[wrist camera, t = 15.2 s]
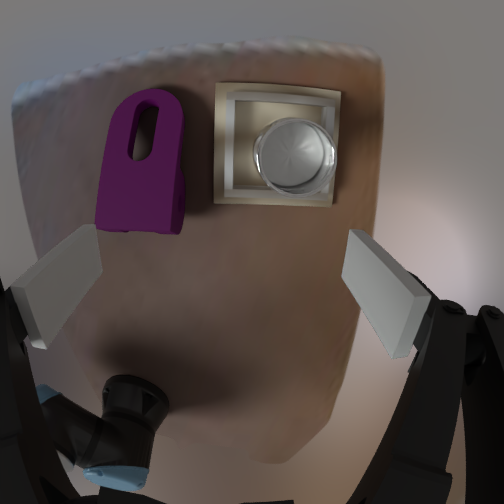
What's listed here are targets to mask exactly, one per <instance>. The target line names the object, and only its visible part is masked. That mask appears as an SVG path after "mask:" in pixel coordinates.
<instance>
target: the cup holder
mask: <svg viewBox="0 0 504 504" xmlns="http://www.w3.org/2000/svg"><path fill="white" fill-rule="evenodd" d="M340 101H341V92H339V91H332V90H325V89H317V88H309V87H300V86H289V85H276V84H259V83H216V93H215V128H214V203H216V204H267V205H295V206H317V207H332V200H333V191H334V181H335V173H334V175H333V177H332V179H331V180H330V182H329V183H328V184H327V185H326V186H325V187H324V188H323V189H322V190H321V191H319V192H317V193H316V194H314V195H311V196H308V197H304V198H291V197H286V196H283V195H280V194H278V193H277V192H275V191H273V190H272V189H271V188H270V187H269V186H268V185H267V184H266V183H265V182H264V181H263V179H262V178H261V177H260V176H259V174H258V172H257V171H256V169H255V166H254V164H253V159H252V142H253V138H254V135H255V134H256V132H257V131H258V130H259V129H260V128H261V127H262V126H264V125H266V124H267V123H269V122H270V121H272V120H275V119H278V118H281V117H298V118H302V119H307V120H310V121H313V122H315V123H317V124H319V125H320V126H321V127H323V128H324V129H325V130H326V131H327V132H328V133H329V135H330V136H331V138H332V140H333V142H334V144H335V147H336V151H337V148H338V135H339V120H340ZM335 171H336V170H335Z"/></svg>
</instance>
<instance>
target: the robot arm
mask: <svg viewBox="0 0 504 504" xmlns="http://www.w3.org/2000/svg"><path fill="white" fill-rule="evenodd" d="M102 272H103V270H102V265H101V259H100V253H99V246H98V239H97V232H96V224H89V225H82V226H81V227H80V228H78V229H77V230H76V231H74V232H73V233H72V234H70V235H69V236H68V237H67V238H65V239H64V240H63V241H62V242H60V243H59V244H58V245H57V246H55V247H54V248H53V249H52V250H50V251H49V252H48V253H47V254H46V255H44V256H43V257H42V258H41V259H40V260H39V261H37V262H36V263H35V264H34V265H33V266H32V267H31V268H29V269H28V270H27V271H26V272H25V273H24V274H23V275H22V276H20V277H19V278H18V279H17V280H16V281H15V282H14V283H13V284H12V285H11V286H10V287H9V288H8V289H7V290H6V291H4V288H3V285H2V282H1V279H0V504H166V503H163V502H160V501H158V500H155V499H153V498H150V497H147V496H145V495H141V494H136V493H130V492H126V491H136V490H140V489H142V488H143V487H144V485H145V483H146V479H147V474H148V473H149V465H150V459H151V454H152V448H153V442H154V437H155V433H156V431H157V429H158V428H159V426H160V425H161V423H162V422H163V420H164V419H165V417H166V416H167V413H168V408H169V401H168V399H167V397H166V395H165V394H164V393H163V392H162V391H161V390H160V389H159V388H157V387H156V386H155V385H153V384H151V383H149V382H147V381H145V380H143V379H140V378H137V377H133V376H126V375H119V376H114V377H111V378H109V379H108V380H107V381H106V383H105V385H104V388H103V391H102V410H103V414H102V417H101V418H99V417H98V416H96V415H94V414H93V413H91V412H89V411H87V410H86V409H84V408H82V407H81V406H79V405H78V404H76V403H74V402H73V401H71V400H70V399H68V398H67V397H65V396H64V395H63V394H62V393H60V392H57V391H56V390H54V389H52V388H51V387H49V386H48V385H45V384H40V385H38V386H36V387H35V383H34V379H33V375H32V371H31V367H30V362H29V357H28V352H27V347H26V346H25V343H24V341H23V340H24V339H25V337H26V336H27V335H28V336H29V339H30V341H31V343H32V345H33V347H37V348H42V349H47V348H48V347H49V345H50V344H51V342H52V341H53V339H54V338H55V336H56V335H57V333H58V332H59V331H60V329H61V328H62V326H63V325H64V323H65V322H66V320H67V319H68V318H69V316H70V315H71V313H72V312H73V311H74V309H75V308H76V307H77V305H78V304H79V302H80V301H81V300H82V298H83V297H84V296H85V294H86V293H87V292H88V290H89V289H90V288H91V287H92V285H93V284H94V283H95V281H96V280H97V279H98V278H99V276H100V275H101V274H102ZM341 277H342V279H343V280H344V282H345V284H346V285H347V287H348V288H349V290H350V291H351V293H352V294H353V296H354V298H355V299H356V301H357V302H358V304H359V306H360V307H361V309H362V310H363V312H364V314H365V315H366V317H367V319H368V320H369V322H370V323H371V325H372V327H373V328H374V330H375V332H376V333H377V335H378V337H379V338H380V340H381V342H382V343H383V345H384V347H385V349H386V350H387V352H388V354H389V355H390V357H391V359H394V358H401V357H407V356H408V355H409V352H410V350H411V348H412V345H413V344H414V346H415V347H416V349H417V350H418V351H417V353H416V355H415V357H414V359H413V361H412V364H411V366H410V368H409V370H408V372H409V375H408V378H407V381H406V383H405V386H404V389H403V392H402V394H401V396H400V399H399V402H398V404H397V407H396V409H395V411H394V414H393V416H392V419H391V421H390V423H389V425H388V428H387V430H386V432H385V434H384V436H383V438H382V440H381V443H380V445H379V447H378V449H377V451H376V453H375V455H374V457H373V459H372V461H371V462H370V465H369V466H368V468H367V470H366V472H365V474H364V475H363V477H362V479H361V481H360V483H359V484H358V486H357V488H356V489H355V491H354V493H353V494H352V496H351V497H350V499H349V500H348V502H347V503H346V504H446V500H447V498H448V495H449V492H450V488H451V484H452V474H451V473H447V472H446V470H445V469H446V464H447V461H448V457H449V453H450V449H451V445H452V440H453V436H454V431H455V427H456V422H457V416H458V411H459V405H460V398H461V400H462V409H463V418H464V431H465V447H466V495H465V496H466V497H465V504H504V314H503V313H502V312H501V311H500V309H498V308H496V307H495V306H489V305H484V306H482V307H481V308H480V310H479V313H478V315H477V316H473V315H467V313H466V310H465V309H464V308H463V307H462V306H461V305H459V304H458V303H456V302H454V301H450V300H440V299H439V298H438V297H437V296H436V295H435V294H434V293H433V292H432V291H431V290H430V289H429V288H427V286H426V285H425V284H424V283H422V281H421V280H420V279H419V278H418V277H417V276H415V275H414V274H412V273H410V272H408V271H406V270H405V269H404V268H403V267H402V266H401V265H400V264H399V263H398V262H397V261H396V260H395V259H394V258H393V257H392V256H391V255H390V254H389V253H388V252H387V251H385V250H384V249H383V248H382V247H381V246H380V245H379V244H378V243H377V242H376V241H375V240H373V239H372V238H371V237H370V236H369V235H368V234H367V233H366V232H365V231H363V230H355V229H350V230H349V236H348V242H347V248H346V254H345V260H344V265H343V271H342V276H341ZM74 465H78V466H79V467H81V468H83V469H84V470H83V473H84V477H85V478H86V479H88V480H90V481H91V482H93V483H95V484H97V485H100V490H99V495H89V496H82V497H81V496H80V495H79V494H78V492H77V491H76V490H75V488H74V487H73V485H72V484H71V482H70V480H69V478H68V476H67V474H66V472H70V471H72V470H73V468H74ZM241 504H294V501H293V500H285V501H273V502H255V503H241Z"/></svg>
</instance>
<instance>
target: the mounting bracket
mask: <svg viewBox="0 0 504 504" xmlns="http://www.w3.org/2000/svg"><path fill="white" fill-rule="evenodd" d="M148 107H158V108H159V112H158V118H157V123H156V129H155V135H154V142H153V148H152V152H151V153H150V155H149V156H148V157H147V158H146V159H144V160H141V161H134V160H133V149H134V143H135V138H136V132H137V127H138V122H139V117H140V114H141V113H142V111H143V110H145V109H146V108H148ZM184 128H185V118H184V114H183V111H182V107H181V105H180V103H179V101H178V100H177V98H176V97H175V96H174V95H172V94H171V93H169V92H167V91H165V90H161V89H146V90H142V91H139V92H137V93H134V94H132V95H131V96H129V97H128V98H126V99H125V100H124V101H123V102H122V103H121V104H120V105H119V106H118V107H117V109H116V110H115V112H114V114H113V116H112V118H111V122H110V126H109V131H108V136H107V141H106V146H105V151H104V156H103V162H102V168H101V175H100V181H99V189H98V196H97V205H96V214H95V224H96V229H100V230H104V231H108V232H129V231H145V232H156V233H159V234H176V235H178V234H180V232H181V229H182V225H183V220H184V211H185V180H184V175H183V173H182V171H181V169H180V159H181V151H182V143H183V135H184Z"/></svg>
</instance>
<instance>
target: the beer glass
mask: <svg viewBox="0 0 504 504" xmlns="http://www.w3.org/2000/svg"><path fill="white" fill-rule="evenodd" d="M252 159H253V164H254V166H255V169H256V171H257V172H258V174H259V176H260V177H261V178H262V179H263V181H264V182H265V183H266V184H267V185H268V186H269V187H270V188H271V189H272V190H273V191H275V192H277V193H278V194H280V195H283V196H286V197H291V198H304V197H308V196H311V195H314V194H316V193H317V192H319V191H321V190H322V189H323V188H324V187H325V186H326V185H327V184H328V183H329V182H330V180H331V179H332V177H333V175H334V173H335V170H336V166H337V151H336V147H335V144H334V142H333V140H332V138H331V136H330V135H329V133H328V132H327V131H326V130H325V129H324V128H323V127H321V126H320V125H319V124H317V123H315V122H313V121H310V120H307V119H302V118H298V117H281V118H278V119H275V120H272V121H270V122H269V123H267V124H266V125H264V126H262V127H261V128H260V129H259V130H258V131H257V132H256V134H255V135H254V138H253V142H252Z"/></svg>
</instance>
